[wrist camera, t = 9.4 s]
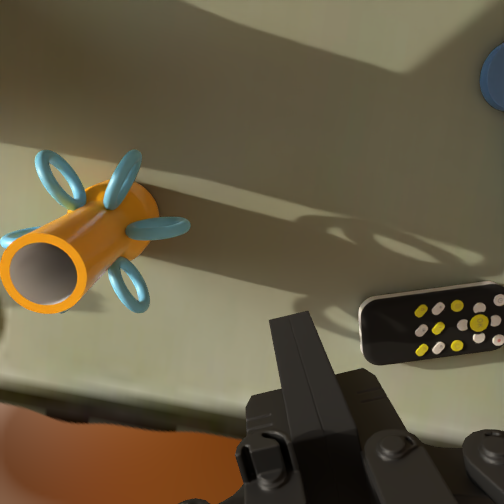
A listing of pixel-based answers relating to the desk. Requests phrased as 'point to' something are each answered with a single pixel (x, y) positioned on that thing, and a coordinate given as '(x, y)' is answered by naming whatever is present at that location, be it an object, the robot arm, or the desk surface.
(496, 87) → the blue disc with handle
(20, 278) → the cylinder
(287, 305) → the desk surface
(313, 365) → the robot arm
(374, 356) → the remote control
